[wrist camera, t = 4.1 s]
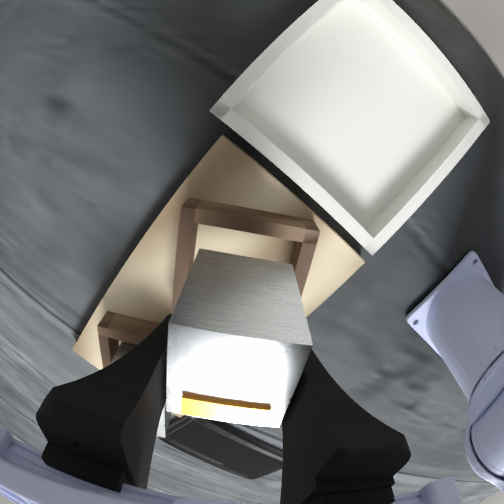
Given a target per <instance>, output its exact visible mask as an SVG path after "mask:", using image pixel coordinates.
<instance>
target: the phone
mask: <svg viewBox="0 0 504 504" xmlns="http://www.w3.org/2000/svg"><path fill="white" fill-rule="evenodd" d="M158 438H159V439H160V440H162V441H163V442H165V443H167V444H169V445H171V446H173V447H175V448H177V449H179V450H181V451H183V452H185V453H187V454H189V455H191V456H193V457H195V458H197V459H200V460H202V461H204V462H206V463H208V464H211V465H213V466H215V467H218V468H220V469H222V470H225V471H227V472H230V473H232V474H235V475H237V476H240V477H243V478H245V479H257V478H260V477H262V476H265V475H268V474H270V473H273V472H276V471H278V470H281V469H282V467H283V452H282V451H280V450H278V449H275V448H273V447H271V446H269V445H267V444H264V443H262V442H260V441H258V440H256V439H254V438H252V437H250V436H248V435H246V434H244V433H242V432H240V431H238V430H236V429H234V428H232V427H231V426H229V425H227V424H225V423H223V422H221V421H217V420H211V419H205V418H199V417H193V416H188V415H183V416H182V417H181V418H178V419H177V420H175V421H173V422H171V423H170V424H169V425H168V429H167V433H166V437H165V438H163V437H159V436H158Z"/></svg>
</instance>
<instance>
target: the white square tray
mask: <svg viewBox="0 0 504 504" xmlns="http://www.w3.org/2000/svg"><path fill="white" fill-rule="evenodd" d="M209 111H210V112H211V113H213V114H214V115H215V116H216V117H218V118H219V119H220V120H221V121H223V122H224V123H225V124H227V125H228V126H229V127H230V128H232V129H233V130H234V131H235V132H236V133H238V134H239V135H240V136H241V137H243V138H244V139H245V140H246V141H247V142H249V143H250V144H251V145H252V146H253V147H255V148H256V149H257V150H258V151H259V152H261V153H262V154H263V155H264V156H265V157H267V158H268V159H269V160H270V161H271V162H272V163H274V164H275V165H276V166H277V167H278V168H279V169H280V170H282V171H283V172H284V173H285V174H286V175H287V176H288V177H290V178H291V179H292V180H293V181H294V182H295V183H296V184H297V185H299V186H300V187H301V188H302V189H303V190H304V191H305V192H306V193H307V194H308V195H310V196H311V197H312V198H313V199H314V200H315V201H316V202H317V203H318V204H319V205H320V206H322V207H323V208H324V209H325V210H326V211H327V212H328V213H329V214H330V215H331V216H332V217H333V218H334V219H335V220H336V221H337V222H338V223H339V224H341V225H342V226H343V227H344V228H345V229H346V230H347V231H348V232H349V233H350V234H351V235H352V236H353V237H354V238H355V239H356V240H357V241H358V242H359V243H360V244H361V245H362V246H363V247H364V248H365V249H366V250H367V251H368V252H369V253H370V254H371V255H373V254H374V253H375V252H376V251H377V250H378V249H379V248H380V247H381V246H382V245H383V244H384V243H385V242H386V241H387V240H388V239H389V238H390V237H391V236H392V235H393V234H394V233H395V232H396V231H397V230H398V229H399V228H400V227H401V226H402V225H403V224H404V223H405V221H406V220H407V219H408V218H409V217H410V216H411V215H412V214H413V213H414V212H415V211H416V210H417V209H418V207H419V206H420V205H421V204H422V203H423V202H424V201H425V200H426V199H427V198H428V196H429V195H430V194H431V193H432V192H433V191H434V190H435V188H436V187H437V186H438V185H439V184H440V183H441V182H442V180H443V179H444V178H445V177H446V176H447V175H448V173H449V172H450V171H451V170H452V169H453V168H454V166H455V165H456V164H457V163H458V162H459V160H460V159H461V158H462V157H463V156H464V154H465V153H466V152H467V151H468V149H469V148H470V147H471V146H472V144H473V143H474V142H475V141H476V139H477V138H478V137H479V136H480V134H481V133H482V132H483V130H484V129H485V128H486V126H487V125H488V124H489V123H490V120H489V118H488V117H487V115H486V113H485V112H484V110H483V109H482V107H481V106H480V104H479V102H478V101H477V99H476V98H475V96H474V95H473V93H472V92H471V91H470V89H469V88H468V86H467V85H466V83H465V82H464V81H463V79H462V78H461V77H460V75H459V74H458V73H457V71H456V70H455V69H454V67H453V66H452V65H451V63H450V62H449V61H448V60H447V58H446V57H445V56H444V55H443V53H442V52H441V51H440V50H439V49H438V48H437V46H436V45H435V44H434V43H433V42H432V41H431V39H430V38H429V37H428V36H427V35H426V34H425V33H424V32H423V31H422V29H421V28H420V27H419V26H418V25H417V24H416V23H415V22H414V21H413V20H412V19H411V18H410V17H409V16H408V15H407V14H406V13H405V12H404V11H403V10H402V9H401V8H400V7H399V6H398V5H397V4H396V3H395V2H394V1H393V0H318V1H317V2H316V3H315V4H314V5H313V6H312V7H310V8H309V9H308V10H307V11H306V12H305V13H304V14H302V15H301V16H300V17H299V18H298V19H297V20H296V21H295V22H294V23H293V24H291V25H290V26H289V27H288V28H287V29H286V30H285V31H284V32H283V33H282V34H281V35H280V36H279V37H278V38H277V39H276V40H275V41H274V42H273V43H272V44H271V45H270V46H269V47H268V48H267V49H266V50H265V51H264V52H263V53H262V54H261V55H260V56H259V57H258V58H257V59H256V60H255V61H254V62H253V63H252V64H251V65H250V66H249V67H248V68H247V69H246V70H245V71H244V72H243V73H242V74H241V75H240V77H239V78H238V79H237V80H236V81H235V82H234V83H233V84H232V85H231V86H230V88H229V89H228V90H227V91H226V92H225V93H224V94H223V95H222V97H221V98H220V99H219V100H218V101H217V102H216V103H215V105H214V106H213V107H212V108H211V109H210V110H209Z"/></svg>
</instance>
